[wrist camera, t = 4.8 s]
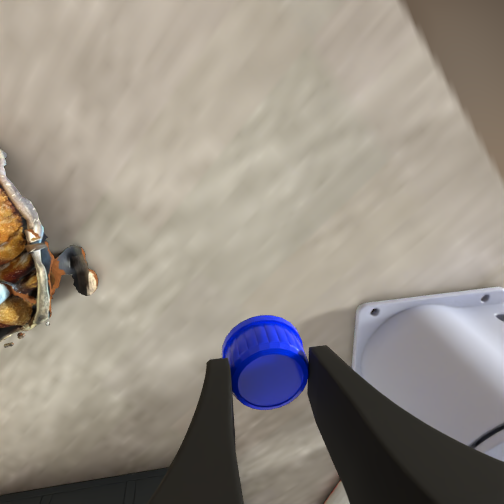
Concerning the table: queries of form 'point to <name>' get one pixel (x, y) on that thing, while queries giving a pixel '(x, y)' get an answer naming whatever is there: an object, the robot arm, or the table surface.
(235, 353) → the bottle cap
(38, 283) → the brown lumpy food piece
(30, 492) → the grid
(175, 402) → the table surface
